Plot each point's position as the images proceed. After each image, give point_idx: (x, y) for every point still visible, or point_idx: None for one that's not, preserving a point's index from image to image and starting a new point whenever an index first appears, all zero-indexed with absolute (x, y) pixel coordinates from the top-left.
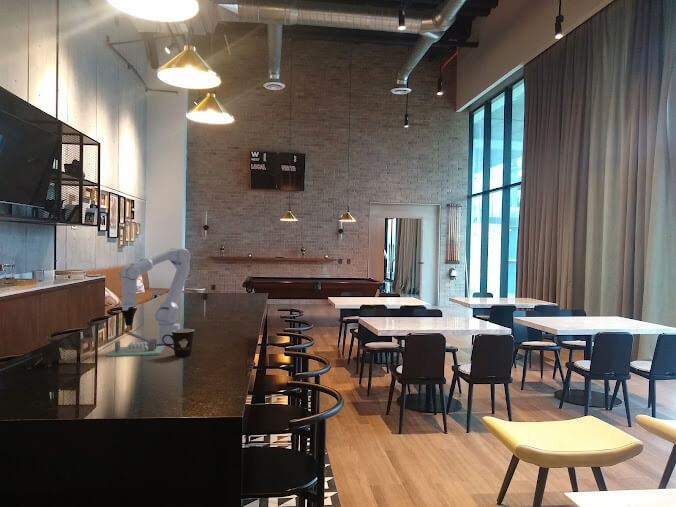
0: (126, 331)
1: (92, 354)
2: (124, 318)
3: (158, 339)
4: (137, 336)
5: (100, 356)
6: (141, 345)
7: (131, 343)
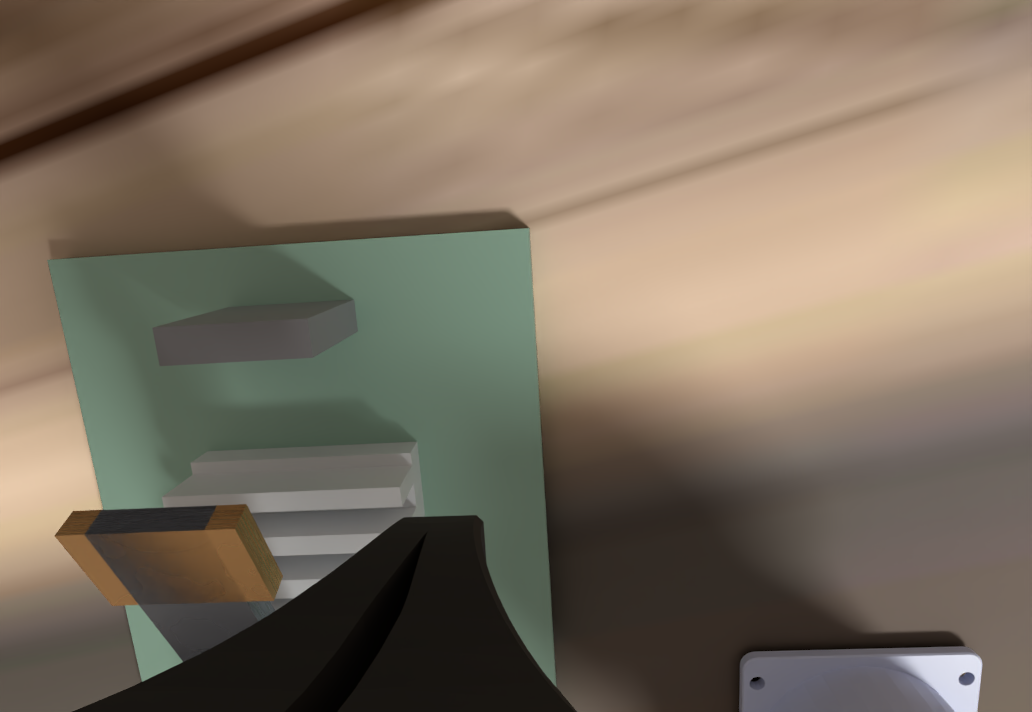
0: (151, 553)
1: (194, 16)
2: (286, 605)
3: (832, 706)
4: None
5: (84, 173)
6: None
7: (316, 509)
